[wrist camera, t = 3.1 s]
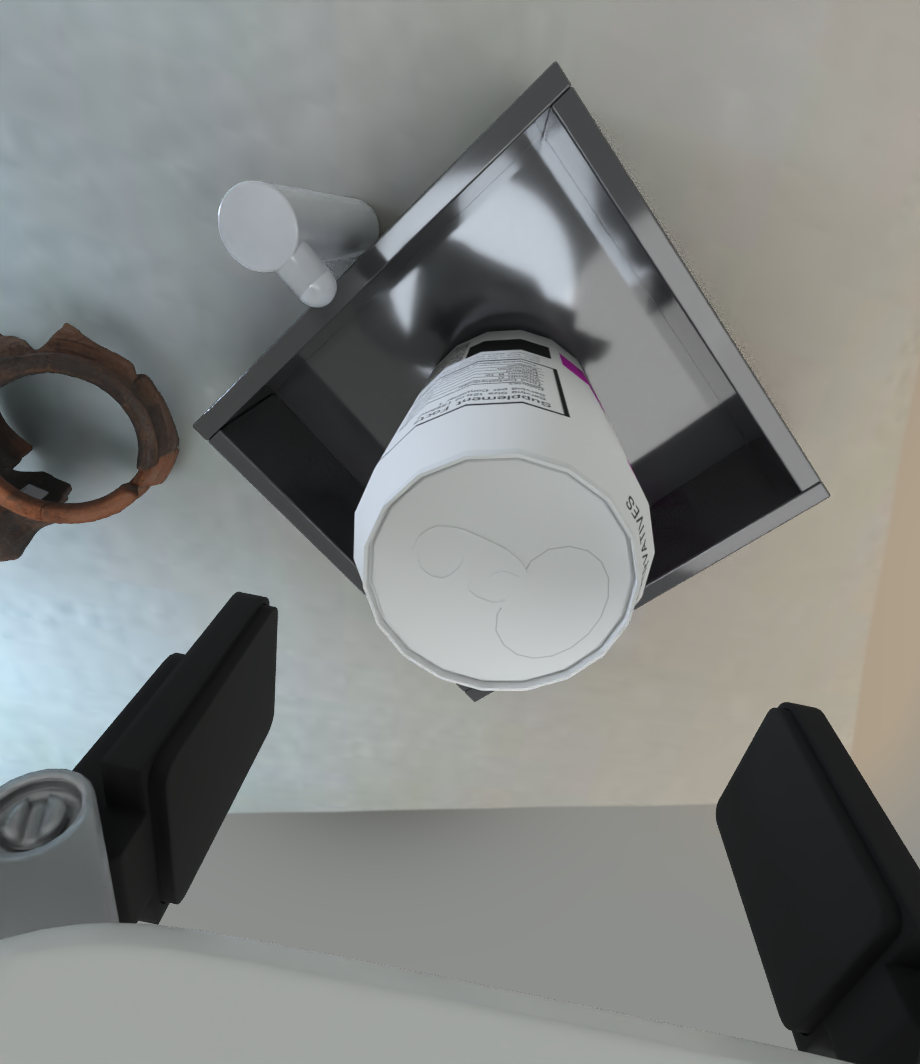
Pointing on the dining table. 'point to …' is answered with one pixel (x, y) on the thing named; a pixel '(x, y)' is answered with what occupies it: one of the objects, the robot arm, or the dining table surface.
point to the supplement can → (504, 521)
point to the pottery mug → (39, 498)
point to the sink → (500, 305)
